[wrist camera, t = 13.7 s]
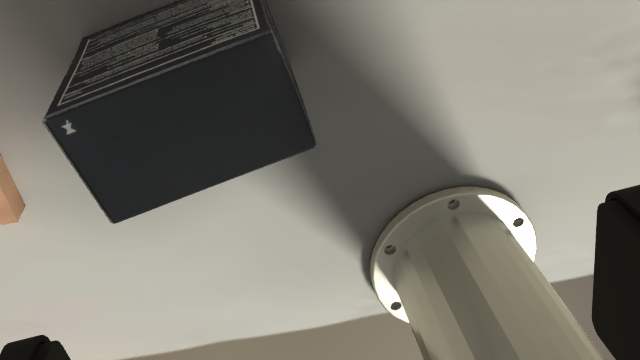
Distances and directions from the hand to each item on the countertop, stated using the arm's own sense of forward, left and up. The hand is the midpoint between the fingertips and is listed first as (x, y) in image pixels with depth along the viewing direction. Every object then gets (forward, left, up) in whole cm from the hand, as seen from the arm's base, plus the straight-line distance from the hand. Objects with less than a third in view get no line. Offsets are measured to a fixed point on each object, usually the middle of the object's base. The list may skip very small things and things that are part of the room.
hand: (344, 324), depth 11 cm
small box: (-4, +4, -27) cm, 28 cm away
